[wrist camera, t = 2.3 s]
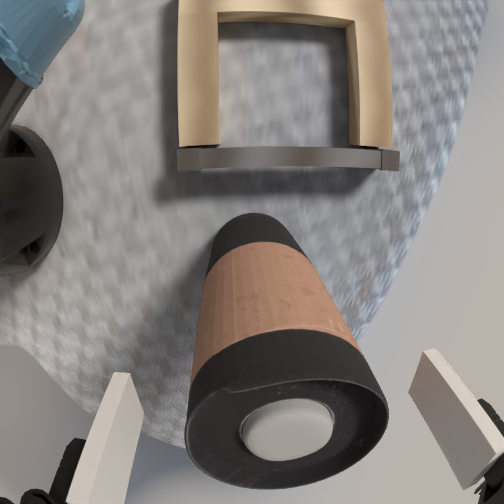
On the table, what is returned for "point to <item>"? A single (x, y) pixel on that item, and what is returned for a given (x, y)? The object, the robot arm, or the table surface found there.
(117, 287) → the table surface
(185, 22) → the wooden arch frame
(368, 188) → the table surface
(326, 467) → the travel mug
